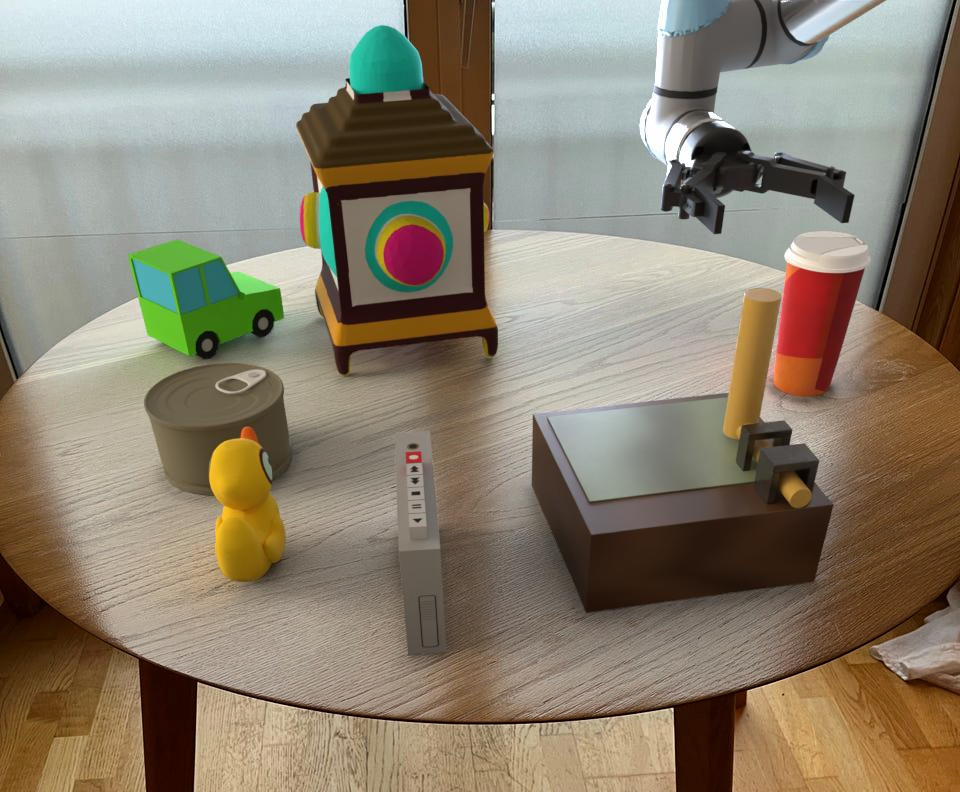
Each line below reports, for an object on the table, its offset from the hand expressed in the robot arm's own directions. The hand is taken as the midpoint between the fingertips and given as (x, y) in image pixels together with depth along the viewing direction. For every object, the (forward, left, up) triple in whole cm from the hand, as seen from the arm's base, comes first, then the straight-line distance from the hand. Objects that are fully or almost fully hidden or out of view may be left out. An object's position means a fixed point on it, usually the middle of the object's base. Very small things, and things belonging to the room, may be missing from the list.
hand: (784, 214), depth 99 cm
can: (+43, +39, -14) cm, 60 cm away
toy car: (+58, +15, -14) cm, 62 cm away
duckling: (+33, +52, -14) cm, 64 cm away
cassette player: (+19, +51, -14) cm, 57 cm away
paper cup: (-5, +8, -14) cm, 17 cm away
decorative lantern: (+38, +9, -14) cm, 42 cm away
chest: (+3, +38, -14) cm, 41 cm away
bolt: (-4, +38, -6) cm, 39 cm away
